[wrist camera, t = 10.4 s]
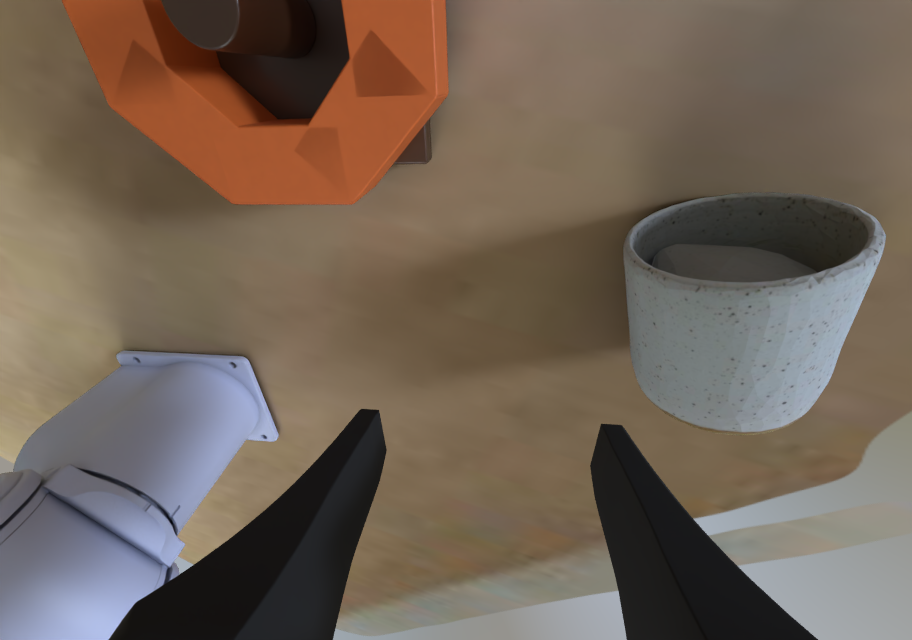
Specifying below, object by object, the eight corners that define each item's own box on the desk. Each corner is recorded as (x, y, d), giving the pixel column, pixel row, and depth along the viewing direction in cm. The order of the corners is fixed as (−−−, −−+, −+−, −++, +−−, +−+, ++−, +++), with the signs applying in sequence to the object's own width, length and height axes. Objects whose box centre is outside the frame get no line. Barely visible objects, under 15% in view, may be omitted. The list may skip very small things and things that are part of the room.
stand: (229, 160, 18) (121, 192, 13) (129, -149, 13) (-118, -301, 8) (431, 159, 17) (401, 192, 12) (414, -177, 12) (345, -374, 7)
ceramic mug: (616, 354, 22) (667, 468, 15) (602, 219, 18) (662, 297, 11) (831, 317, 20) (997, 433, 13) (871, 152, 16) (1138, 203, 9)
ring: (202, 187, 18) (153, 205, 16) (51, -215, 12) (-74, -297, 9) (451, 186, 17) (442, 205, 14) (436, -265, 10) (415, -376, 8)
